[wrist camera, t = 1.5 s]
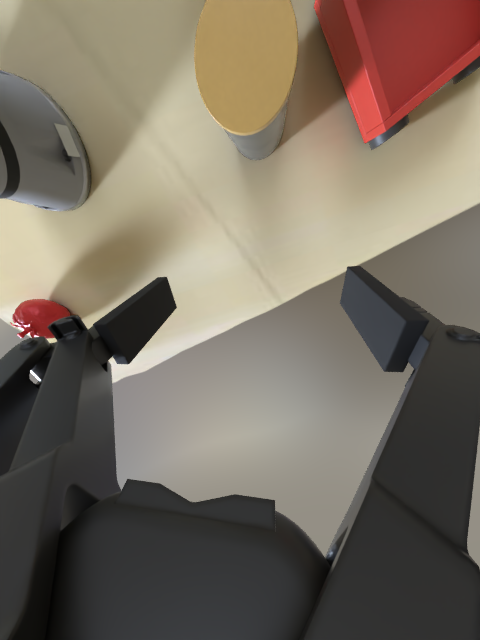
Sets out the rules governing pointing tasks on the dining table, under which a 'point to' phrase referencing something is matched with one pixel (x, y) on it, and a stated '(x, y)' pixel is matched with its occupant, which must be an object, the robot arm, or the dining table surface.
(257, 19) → the tin
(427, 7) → the cart
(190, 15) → the dining table surface
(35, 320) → the pomegranate
